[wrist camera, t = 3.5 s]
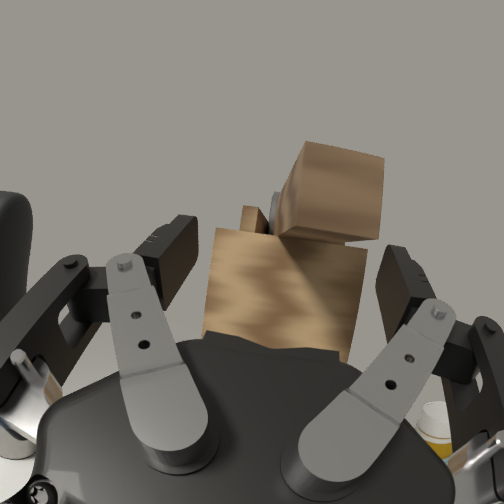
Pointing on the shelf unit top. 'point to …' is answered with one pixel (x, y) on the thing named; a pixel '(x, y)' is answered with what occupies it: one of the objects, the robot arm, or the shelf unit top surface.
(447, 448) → the bottle
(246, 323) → the post
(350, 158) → the lever bar
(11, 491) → the shelf unit top surface
